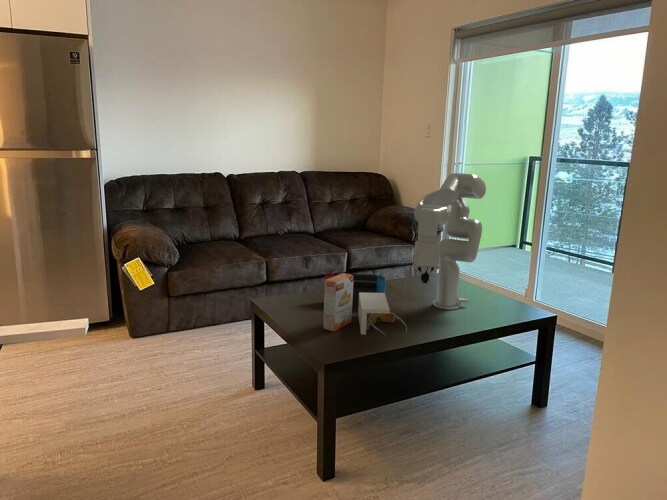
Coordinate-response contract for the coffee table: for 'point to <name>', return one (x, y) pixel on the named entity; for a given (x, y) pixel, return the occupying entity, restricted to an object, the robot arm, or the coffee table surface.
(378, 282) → the game console
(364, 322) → the overhang dock
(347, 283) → the cracker box
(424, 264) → the robot arm
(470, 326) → the coffee table surface
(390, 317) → the sunglasses
